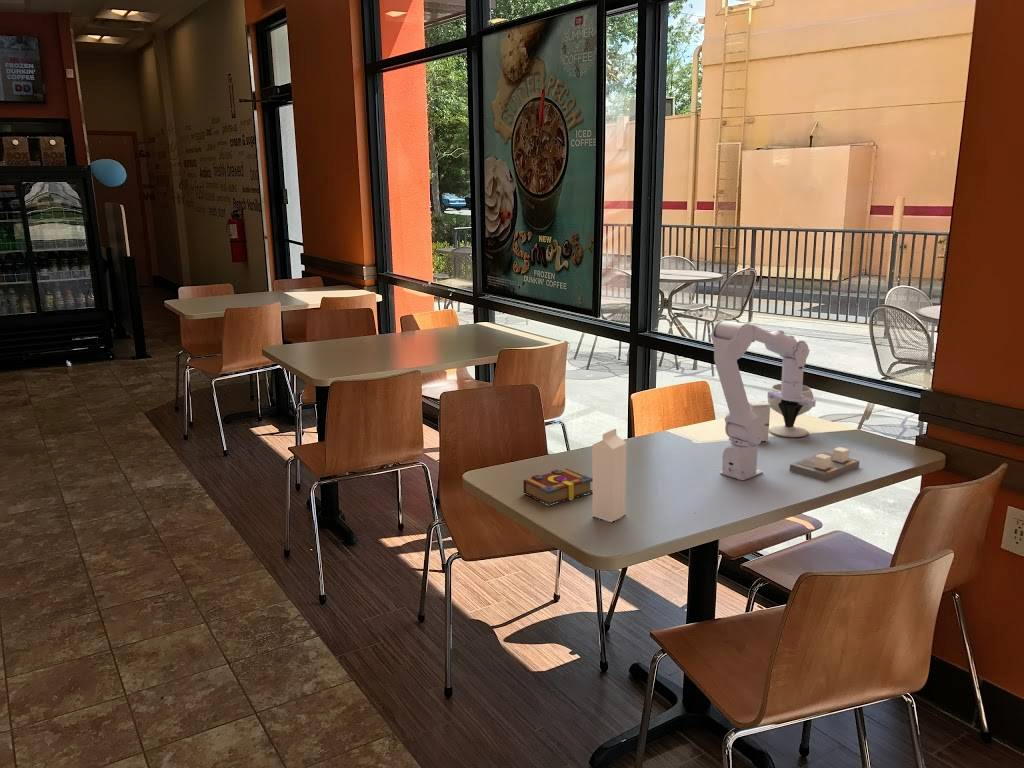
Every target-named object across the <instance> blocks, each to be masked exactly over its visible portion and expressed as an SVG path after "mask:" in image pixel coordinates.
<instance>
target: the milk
mask: <svg viewBox="0 0 1024 768" xmlns="http://www.w3.org/2000/svg"><path fill="white" fill-rule="evenodd" d="M592 478H593V481H592V491H593V494H592V517H593V516H597V517H600V518H601V517H602V518H605V519H608V520H612V521H614V520H615V519H617V518H619V517H621V516H623V515H625V514H626V513H627V512H626V511H627V510H626V509H627V508H626V507H627V442H626V441H625V440H623V438H622V437H620V436H619V435H618V434H617V428H613V429H611V430H609V431H607V432H605V433H602V440H599V441H598V442H595V443H593V444H592Z"/></svg>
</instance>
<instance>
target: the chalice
mask: <svg viewBox="0 0 1024 768" xmlns="http://www.w3.org/2000/svg"><path fill="white" fill-rule="evenodd" d="M769 391H777V392H781V383H778V384H774V385H772V387H771V388H770V390H769ZM802 396H805V397H808V398H810V399H814V400H815V397H814V394H813V390H812V389H811V387H809V386H808V385H804V384H802ZM767 403H769V404H770V409H772V410H773V411H775V412H777V413H778V414H780V415H782V416H783V414H782V412H781V409H780V408H779V406H778V403H781V400H777V399H773V398H771V399H770V398H767ZM811 409H812V408H811V407H808V406H805V405H803V407H802V408H801V409H800V411H799V413H798V415H797V417H798V416H800V415H803V414H805V413H807V412H809V411H810V410H811ZM769 432H770V433H771V434H773V435H776V436H777V437H778V436H779V437H784V438H785V437H786V438H801V437H806V436H808V435H809V434H810V432H809V431H808V430H807V429H805V428H802V427H800V426H795V425H794V426H793V427H790V428H789V427H785V425H776V426H773V427H769Z"/></svg>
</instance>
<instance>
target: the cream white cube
mask: <svg viewBox="0 0 1024 768" xmlns="http://www.w3.org/2000/svg"><path fill="white" fill-rule="evenodd" d="M818 454H819V453H818ZM814 467H815V468H819V469H823V470H825V469H827V468H830V467H831V456H828V455H825V454H819V455H817V456H815V462H814Z"/></svg>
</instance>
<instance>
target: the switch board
mask: <svg viewBox="0 0 1024 768" xmlns="http://www.w3.org/2000/svg"><path fill="white" fill-rule="evenodd" d="M819 454H825V455H828V456H831V467H830V468H827V469H825V470H823V469H819V468H815V467H814V462H815V456H817V455H819ZM858 468H859V469H860V460H857V459H855V458H850V457H849V460H848V461H845V462H843V463H841V462H838V461H834V460H833V452H827V451H822V452H820V453H817V454H814V455H811V456H808V457H806V458H803V459H801V460H797V461H795V462H793V463H790V464H789V472H792V473H795V474H799V475H802V476H805V477H809V478H812V479H816V480H819V481H822V482H827V481H828V480H832V479H834V478H837V477H839V476H842V475H844V474H846V473H847V474H848V473H850V472H851V471H854V470H856V469H858Z"/></svg>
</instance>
